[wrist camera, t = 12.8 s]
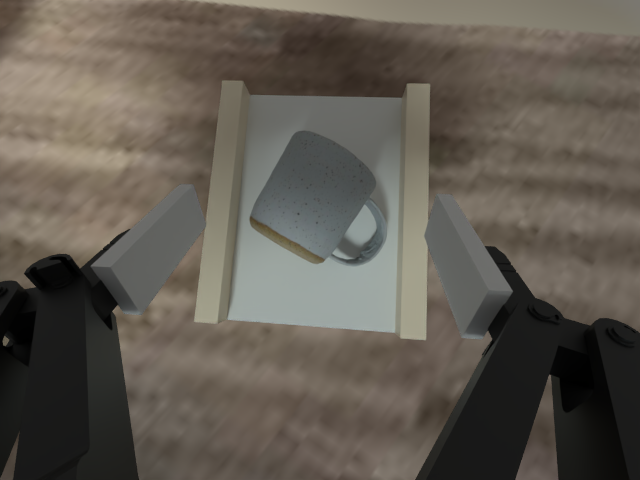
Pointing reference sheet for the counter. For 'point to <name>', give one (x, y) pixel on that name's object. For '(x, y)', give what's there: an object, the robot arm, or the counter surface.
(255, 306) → the rail tray
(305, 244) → the ceramic mug
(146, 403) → the counter surface
